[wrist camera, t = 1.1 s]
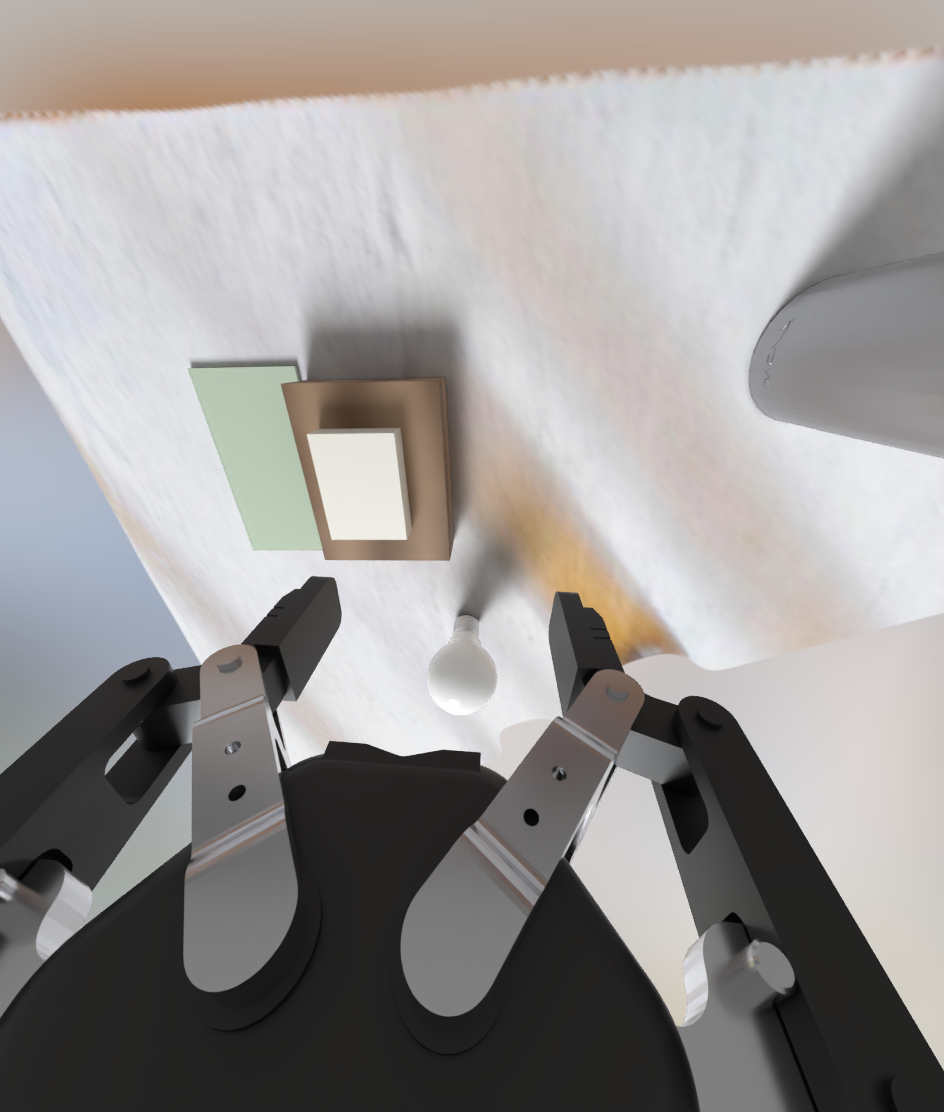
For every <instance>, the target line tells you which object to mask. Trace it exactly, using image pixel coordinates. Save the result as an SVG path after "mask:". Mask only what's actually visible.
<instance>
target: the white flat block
mask: <svg viewBox="0 0 944 1112" xmlns="http://www.w3.org/2000/svg"><path fill="white" fill-rule="evenodd" d="M307 438H308V442H309V447H310V451H311V455H312V459H313V463H314V468H315V472H316V476H317V480H318V484H319V489H320V493H321V497H322V501H323V506H324V510H325V514H326V518H327V522H328V527H329V531H330V535H331V539H332V540H407V539H408V536H409V534H410V532H411V530H412V526H411V517H410V508H409V499H408V490H407V481H406V472H405V463H404V454H403V446H402V437H401V428H354V429H318V430H315V431H313V432H311V433H308V434H307Z"/></svg>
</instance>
